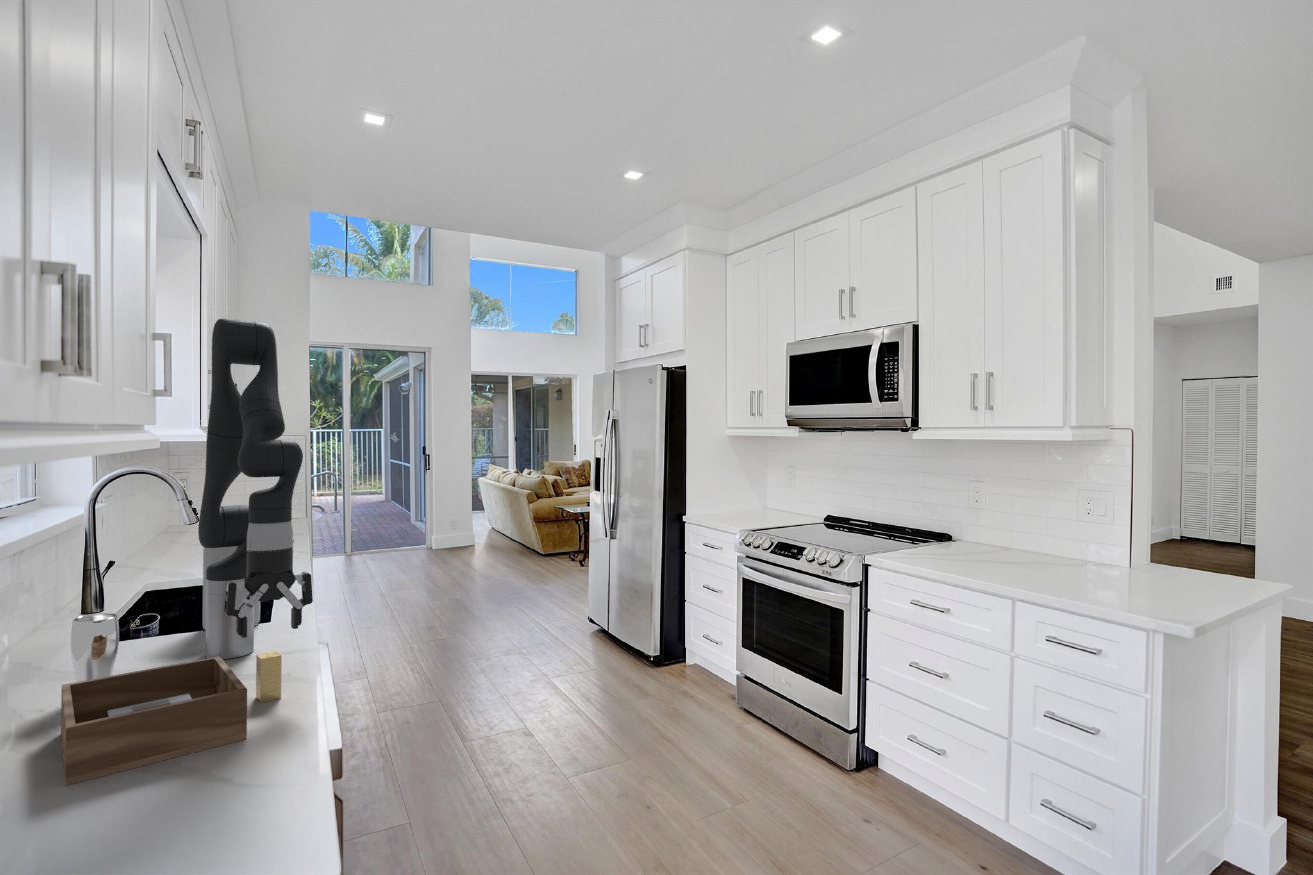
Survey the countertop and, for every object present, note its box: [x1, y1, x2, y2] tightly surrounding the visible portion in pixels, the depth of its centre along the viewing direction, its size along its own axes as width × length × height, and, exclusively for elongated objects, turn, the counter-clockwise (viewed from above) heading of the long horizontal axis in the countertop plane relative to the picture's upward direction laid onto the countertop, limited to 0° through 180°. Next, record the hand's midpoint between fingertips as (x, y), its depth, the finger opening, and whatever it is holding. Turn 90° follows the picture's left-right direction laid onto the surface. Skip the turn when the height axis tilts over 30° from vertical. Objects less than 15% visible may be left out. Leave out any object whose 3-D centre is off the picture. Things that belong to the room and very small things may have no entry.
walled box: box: [60, 656, 248, 786], centre depth 109 cm, size 22×22×8 cm
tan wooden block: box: [255, 650, 282, 703], centre depth 126 cm, size 3×3×8 cm
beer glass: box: [69, 612, 120, 682], centre depth 125 cm, size 7×7×15 cm
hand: (269, 632), depth 125 cm, fingers open, 8 cm apart
